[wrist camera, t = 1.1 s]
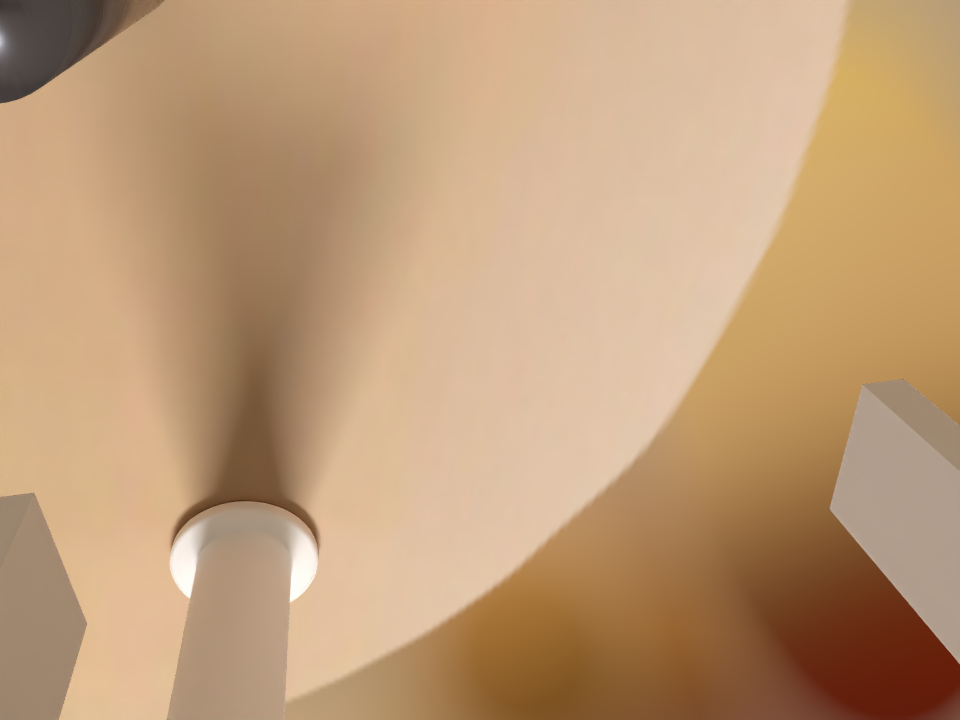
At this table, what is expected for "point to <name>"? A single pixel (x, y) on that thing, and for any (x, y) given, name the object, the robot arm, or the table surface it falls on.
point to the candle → (238, 609)
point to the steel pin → (56, 37)
